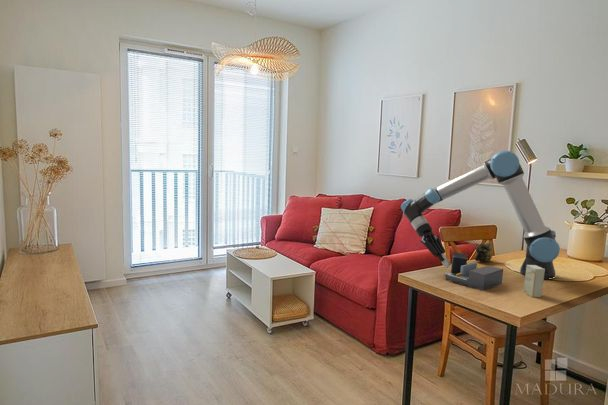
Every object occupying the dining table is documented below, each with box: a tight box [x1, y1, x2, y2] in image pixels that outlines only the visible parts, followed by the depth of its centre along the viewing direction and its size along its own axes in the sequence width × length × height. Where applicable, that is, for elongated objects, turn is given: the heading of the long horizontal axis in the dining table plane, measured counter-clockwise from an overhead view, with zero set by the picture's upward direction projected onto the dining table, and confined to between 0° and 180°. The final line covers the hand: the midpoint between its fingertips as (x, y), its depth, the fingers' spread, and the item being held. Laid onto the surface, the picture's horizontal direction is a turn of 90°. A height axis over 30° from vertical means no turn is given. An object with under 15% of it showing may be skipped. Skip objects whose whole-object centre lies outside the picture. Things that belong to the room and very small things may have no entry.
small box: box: [450, 251, 468, 274], centre depth 193 cm, size 11×6×10 cm, turn 161°
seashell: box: [474, 242, 493, 263], centre depth 225 cm, size 11×11×10 cm
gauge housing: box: [444, 265, 504, 291], centre depth 186 cm, size 18×18×7 cm
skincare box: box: [522, 265, 545, 298], centre depth 171 cm, size 6×4×12 cm
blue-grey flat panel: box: [456, 261, 478, 278], centre depth 187 cm, size 1×16×7 cm, turn 128°
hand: (448, 266), depth 197 cm, fingers closed
